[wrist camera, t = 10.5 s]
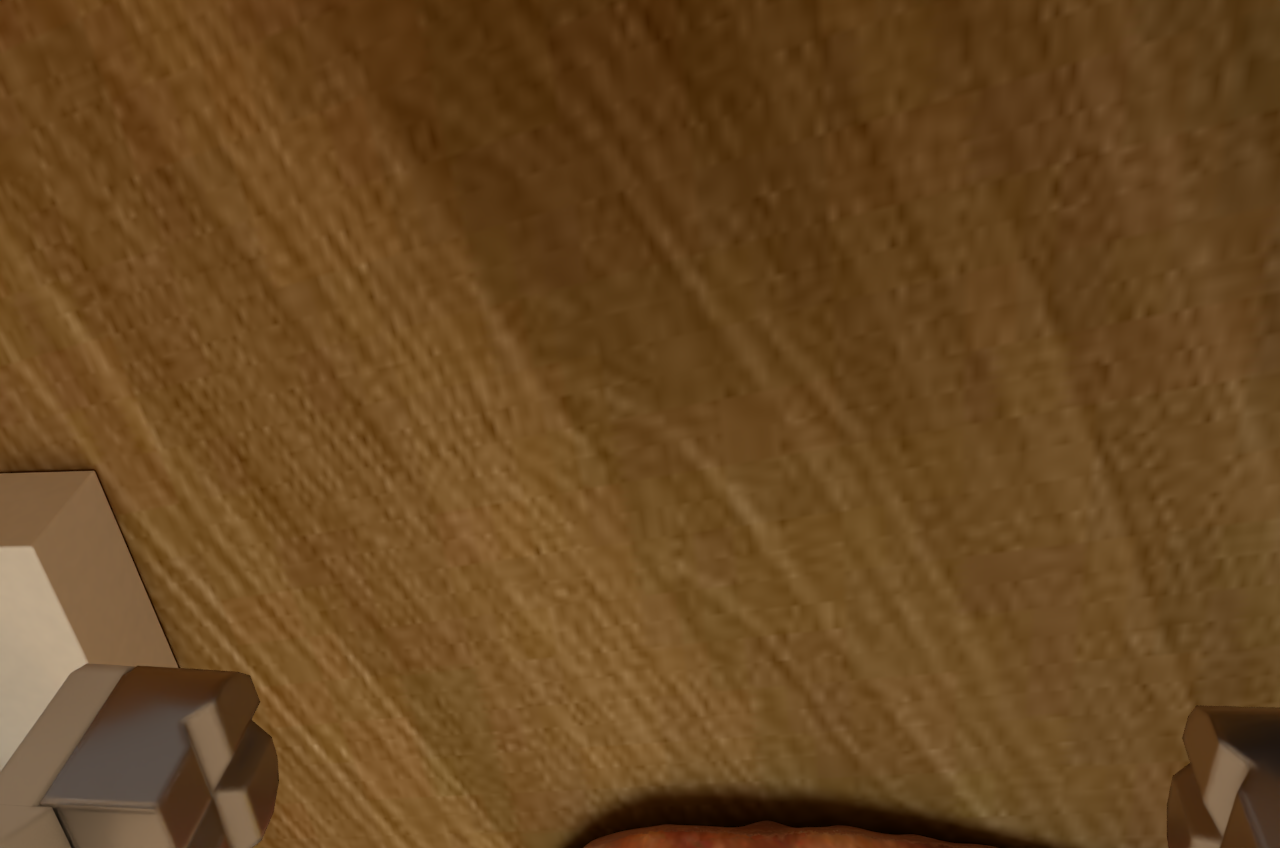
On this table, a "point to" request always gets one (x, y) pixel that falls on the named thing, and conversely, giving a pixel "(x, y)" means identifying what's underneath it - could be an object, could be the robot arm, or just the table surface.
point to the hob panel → (64, 594)
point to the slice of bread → (765, 838)
